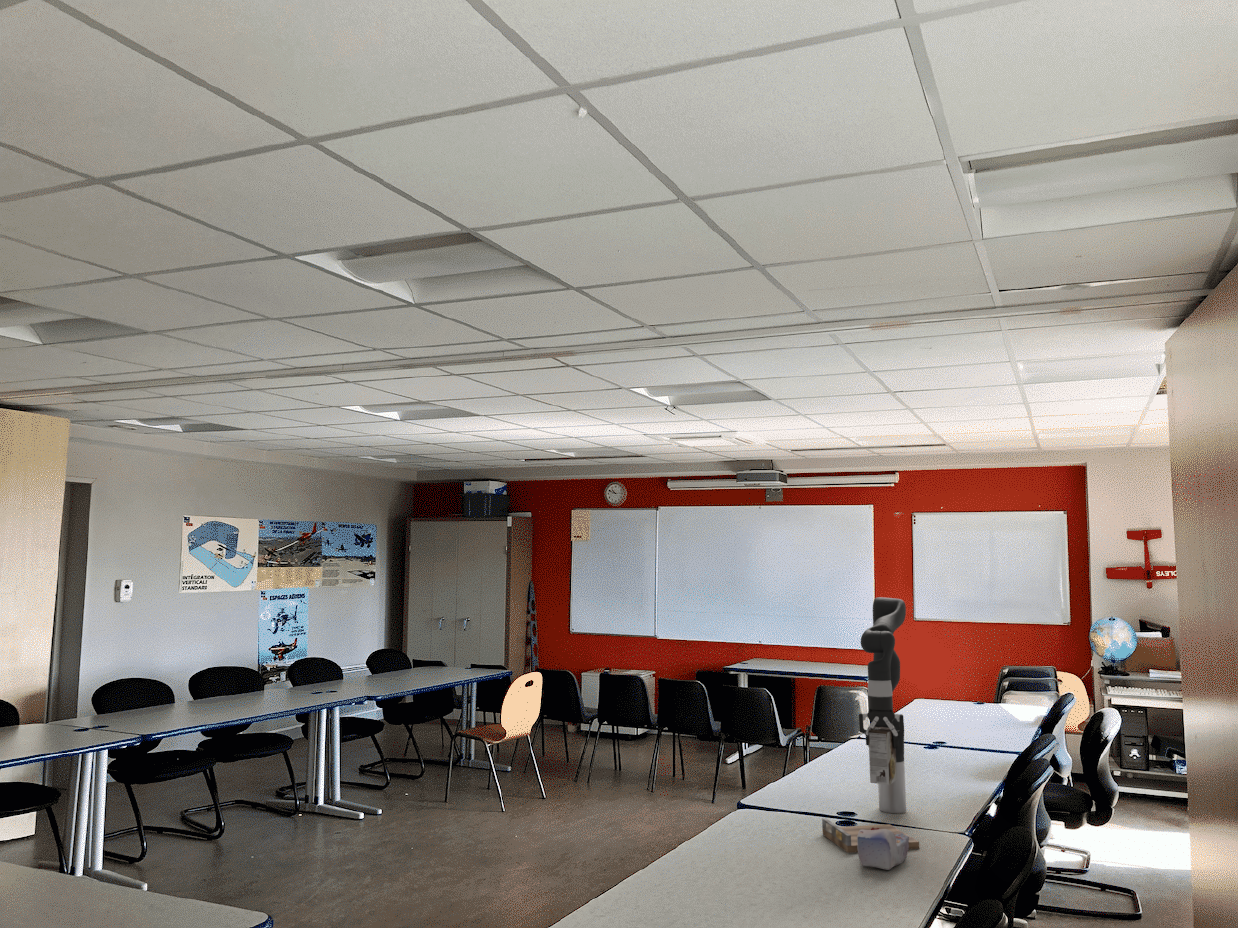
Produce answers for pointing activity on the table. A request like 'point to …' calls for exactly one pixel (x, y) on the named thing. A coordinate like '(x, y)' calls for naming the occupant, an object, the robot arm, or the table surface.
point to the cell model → (881, 848)
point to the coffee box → (882, 756)
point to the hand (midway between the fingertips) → (882, 747)
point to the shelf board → (855, 835)
